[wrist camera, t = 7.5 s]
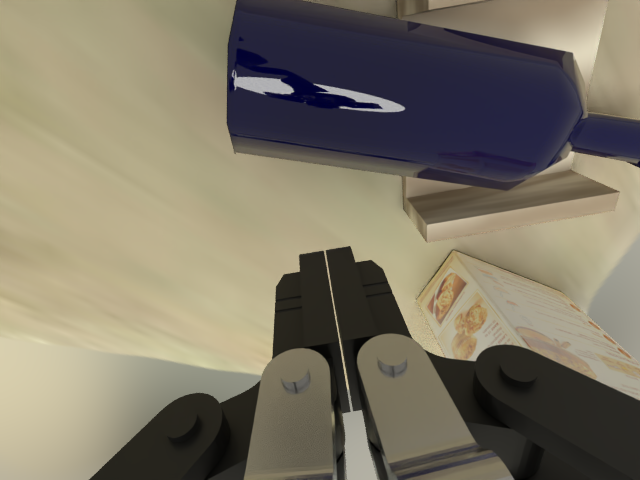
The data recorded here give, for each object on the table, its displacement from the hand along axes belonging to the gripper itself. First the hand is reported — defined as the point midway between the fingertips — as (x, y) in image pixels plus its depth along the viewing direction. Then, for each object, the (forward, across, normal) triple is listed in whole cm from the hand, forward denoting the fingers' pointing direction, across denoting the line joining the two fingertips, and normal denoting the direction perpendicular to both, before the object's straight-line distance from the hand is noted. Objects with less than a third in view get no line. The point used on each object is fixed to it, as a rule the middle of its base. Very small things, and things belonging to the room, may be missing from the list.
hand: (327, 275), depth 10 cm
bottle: (+15, +3, -5) cm, 16 cm away
